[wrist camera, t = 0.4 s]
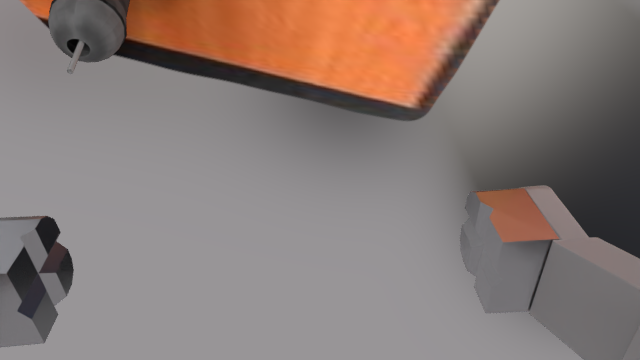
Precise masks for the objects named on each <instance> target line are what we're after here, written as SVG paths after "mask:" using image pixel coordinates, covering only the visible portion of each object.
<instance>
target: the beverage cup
mask: <svg viewBox="0 0 640 360" xmlns="http://www.w3.org/2000/svg"><path fill="white" fill-rule="evenodd" d="M129 2H130V0H53V1H52V3H51V7H50V11H49V14H50V15H49V20H48V22H49V28H50V34H51V36H52V38H53V40H54V42H55V43H56V45H57V46H58V47H59V48H60V49H61V50H62V51H63V52H64V53H65V54H67V55H68V56H70V57H71V58H72V59H71V62H70V64H69V67H68V69H67V72H68V73H70V74H72V73H73V71H74V69H75V66H76V64H77V61H84V62H99V61H102V60H104V59H107V58H109V57H111V56H112V55H113V54H114V53H115V52H116V51H117V50H118V49H119V48H120V46H121V45H122V44H123V43H124V41H125V38H126V36H127V31H126V17H127V12H128V7H129Z"/></svg>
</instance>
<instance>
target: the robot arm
mask: <svg viewBox="0 0 640 360" xmlns="http://www.w3.org/2000/svg"><path fill="white" fill-rule="evenodd" d="M465 209H466V211H467V213H468V215H469V217H470V218H469V219H468V220H467V221H466V222H465V223H464V224H463V225H462V228H461V235H460V244H461V254H462V258H463V262H464V264H465V267H466V269H467V271H469V272H470V273H471V274H473V275H474V276H476V280H475V285H474V288H475V290H476V293H477V295H478V297H479V299H480V302H481V304H482V306H483V309H484V311H485V313H503V312H527V311H530V312H529V314H530V315H531V316H533V317H534V318H535V319H536V320H537V321H539V322H540V323H541V324H542V325H543V326H544V327H546V328H547V329H548V330H549V331H550V332H552V333H553V334H554V335H555V336H556V337H558V338H559V339H560V340H561V341H562V342H563V343H565V344H566V345H567V346H568V347H569V348H571V349H572V350H573V351H574V352H575V353H577V354H578V355H579V356H580V357H581V358H582V359H584V360H640V259H639V258H637V257H635V256H633V255H631V254H629V253H627V252H625V251H623V250H621V249H619V248H617V247H615V246H613V245H611V244H609V243H607V242H605V241H603V240H601V239H599V238H597V237H596V238H589V237H588V236H587V234H586V233H585V232H584V231H583V229H582V228H581V227H580V226H579V224H578V223H577V221H575V219H574V218H573V216H572V215H571V214H570V212H569V211H568V210H567V209H566V207H565V206H564V205H563V203H562V202H561V201H560V200H559V198H558V197H557V196H556V194H555V193H554V192H553V191H552V189H551V188H549V187H547V186H545V185H544V186H532V187H520V188H518V189H502V190H487V191H472V192H470V193H469V195H468V197H467V200H466V206H465ZM59 234H60V230H59V228H58V226H57V224H56V222H55V220H54V219H53V218H51V217H48V216H32V217H8V218H7V217H6V218H0V347H8V346H19V345H30V344H40V343H45V341H46V339H47V337H48V335H49V333H50V331H51V328H52V326H53V324H54V322H55V320H56V318H57V316H58V313H57V311H56V309H55V307H54V306H55V305H56V304H57V303H59V302H60V301H61V300H62V299H64V298H65V297H66V296H67V294H68V292H69V290H70V287H71V285H72V279H73V271H74V269H73V263H72V258H71V256H70V253H69V251H68V249H67V248H65V247H64V246H62V245H61V244H60V243H58V242H57V238H58V236H59Z"/></svg>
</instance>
